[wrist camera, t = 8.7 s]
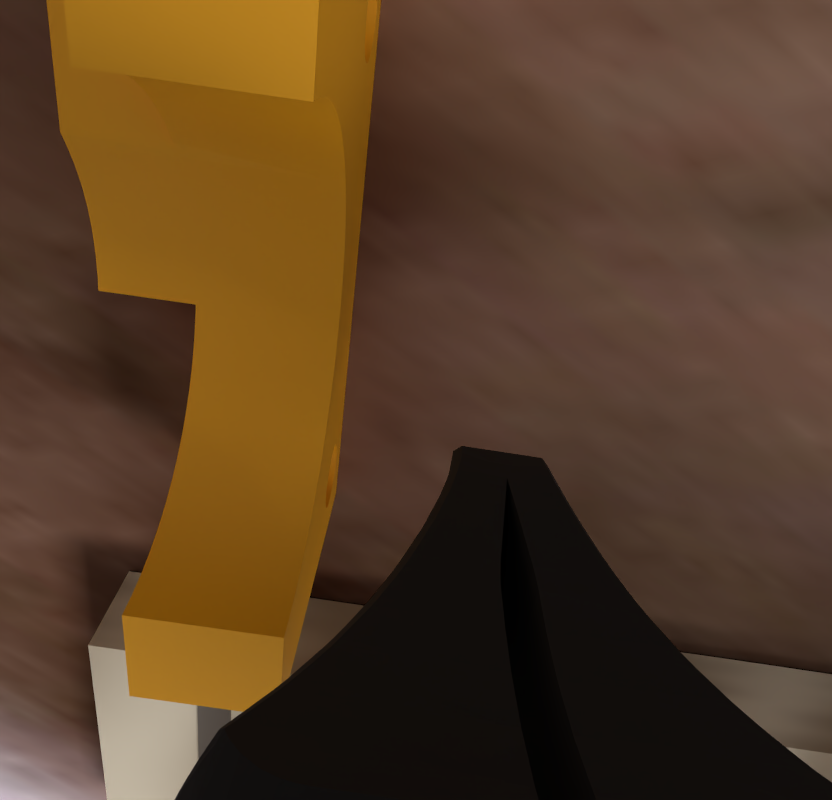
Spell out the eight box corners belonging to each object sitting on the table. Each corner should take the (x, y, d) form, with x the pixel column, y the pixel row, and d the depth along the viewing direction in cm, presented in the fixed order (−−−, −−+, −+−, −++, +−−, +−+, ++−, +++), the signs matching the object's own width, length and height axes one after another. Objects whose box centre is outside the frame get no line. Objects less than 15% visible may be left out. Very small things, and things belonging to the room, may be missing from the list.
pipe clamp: (126, -133, 13) (-140, -185, 7) (390, -94, 13) (325, -117, 7) (158, 463, 19) (27, 681, 13) (336, 488, 19) (279, 716, 13)
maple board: (1031, 703, 21) (1098, 796, 18) (870, 901, 26) (907, 992, 24) (128, 571, 21) (86, 648, 18) (146, 796, 26) (114, 878, 23)
